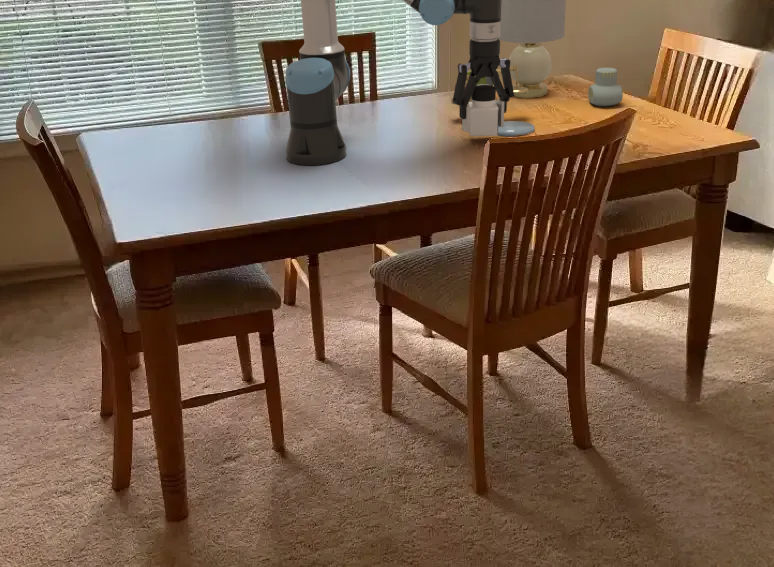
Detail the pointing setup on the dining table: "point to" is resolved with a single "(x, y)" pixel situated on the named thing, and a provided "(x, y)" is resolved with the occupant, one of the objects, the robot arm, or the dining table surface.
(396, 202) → the dining table surface
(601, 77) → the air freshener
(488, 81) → the balance scale
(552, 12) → the lamp
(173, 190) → the dining table surface
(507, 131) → the dish
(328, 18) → the robot arm
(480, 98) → the medicine bottle
